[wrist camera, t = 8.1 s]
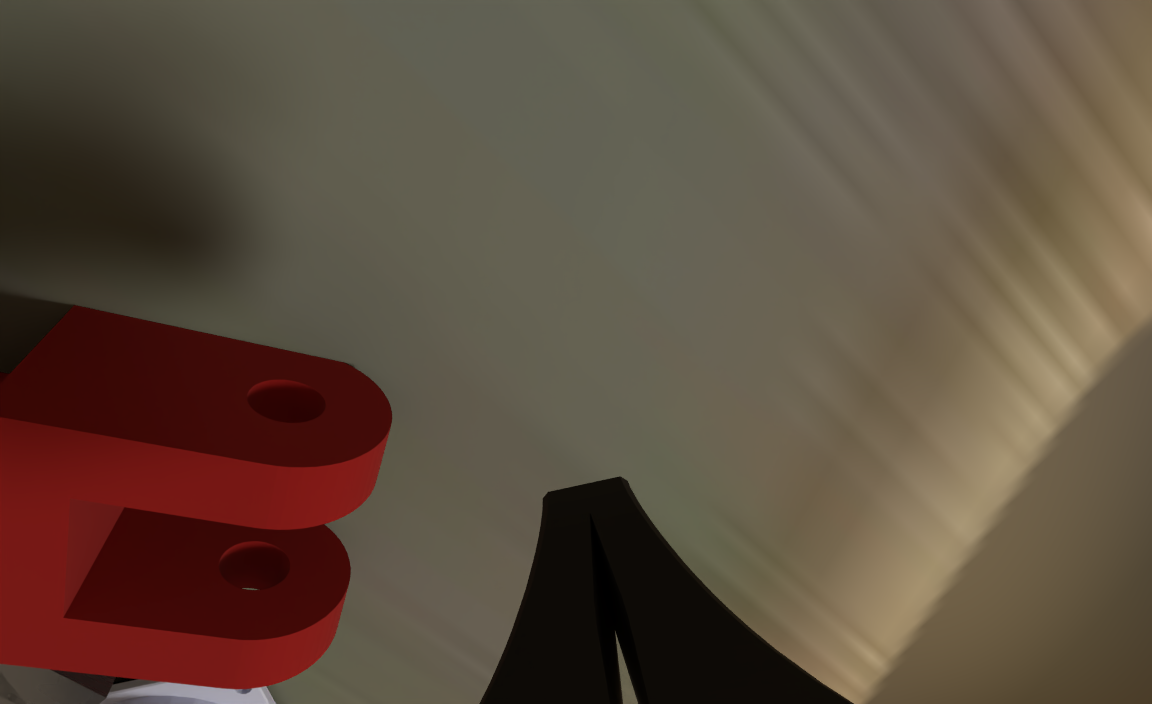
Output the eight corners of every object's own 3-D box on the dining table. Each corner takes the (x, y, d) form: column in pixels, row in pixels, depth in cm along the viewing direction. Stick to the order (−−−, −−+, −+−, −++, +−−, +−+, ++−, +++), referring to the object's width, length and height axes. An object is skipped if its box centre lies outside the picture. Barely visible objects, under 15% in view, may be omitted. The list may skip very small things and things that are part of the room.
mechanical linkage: (398, 369, 22) (382, 485, 18) (348, 562, 25) (324, 699, 21) (-312, 216, 18) (-552, 318, 14) (-269, 467, 21) (-455, 613, 17)
